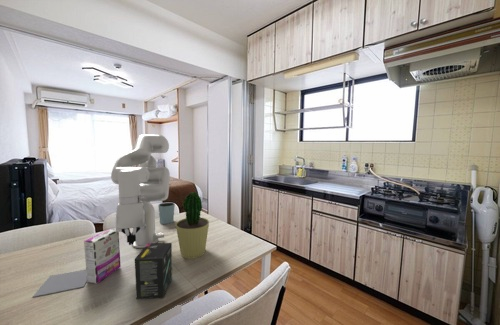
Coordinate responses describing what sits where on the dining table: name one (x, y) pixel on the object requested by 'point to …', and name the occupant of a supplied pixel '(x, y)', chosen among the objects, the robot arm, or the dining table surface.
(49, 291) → the mat
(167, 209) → the blue grey cup
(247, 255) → the dining table surface
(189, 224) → the potted cactus
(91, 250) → the candy bar box
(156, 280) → the tampon box
